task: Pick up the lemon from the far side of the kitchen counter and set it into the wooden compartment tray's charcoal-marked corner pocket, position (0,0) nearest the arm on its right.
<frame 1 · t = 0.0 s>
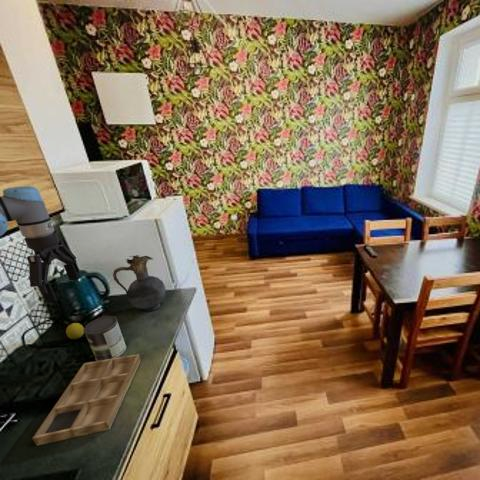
hand: (63, 289, 95), 30 cm above the kitchen counter, tool pointing down, fingers open, 13 cm apart
coffee can: (111, 352, 108), on the kitchen counter
pitcher: (147, 308, 134), on the kitchen counter
lemon: (78, 338, 115), on the kitchen counter
wooden compartment tray: (97, 396, 90), on the kitchen counter
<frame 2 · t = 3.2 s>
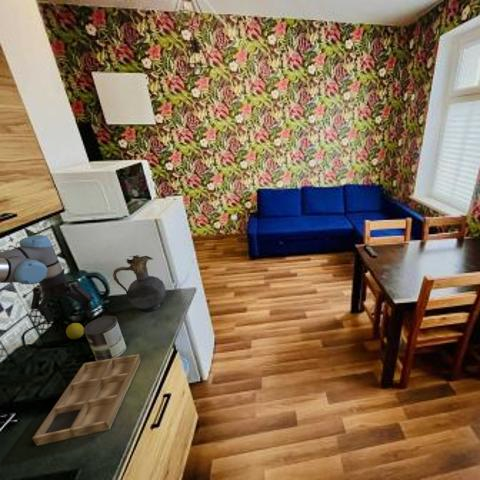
hand: (70, 318, 111), 10 cm above the kitchen counter, tool pointing down, fingers open, 13 cm apart
nothing on the kitchen counter moved.
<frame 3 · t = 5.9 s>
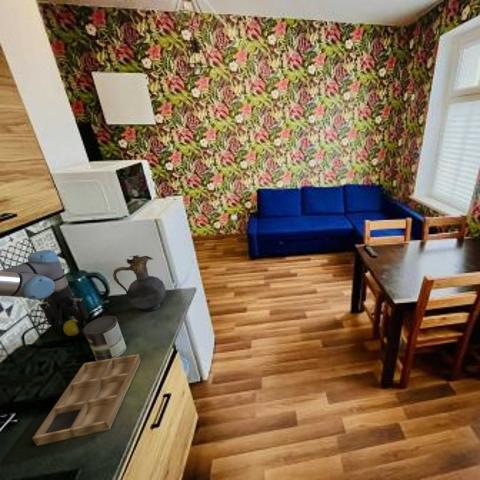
hand: (75, 334, 113), 2 cm above the kitchen counter, tool pointing down, fingers closed on lemon, 5 cm apart
lemon: (75, 335, 113), point 2 cm above the kitchen counter, touching gripper
everything else where it was.
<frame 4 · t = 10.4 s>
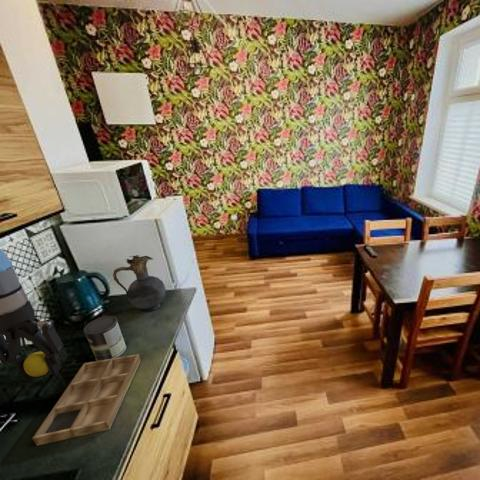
hand: (44, 373, 76), 19 cm above the kitchen counter, tool pointing down, fingers closed on lemon, 5 cm apart
lemon: (44, 374, 76), point 18 cm above the kitchen counter, touching gripper
everything else where it was.
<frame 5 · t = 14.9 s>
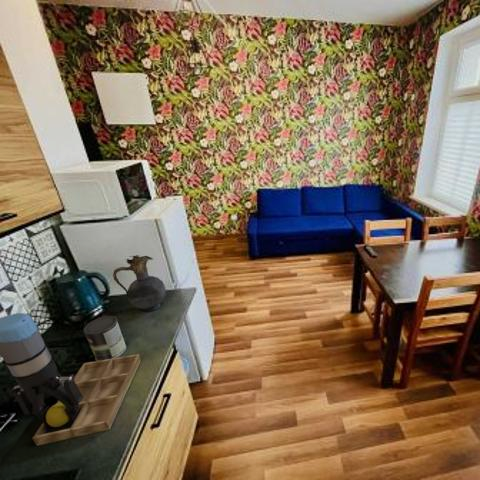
hand: (64, 422, 81), 1 cm above the kitchen counter, tool pointing down, fingers closed on lemon, 5 cm apart
lemon: (64, 423, 81), point 1 cm above the kitchen counter, touching gripper
everything else where it was.
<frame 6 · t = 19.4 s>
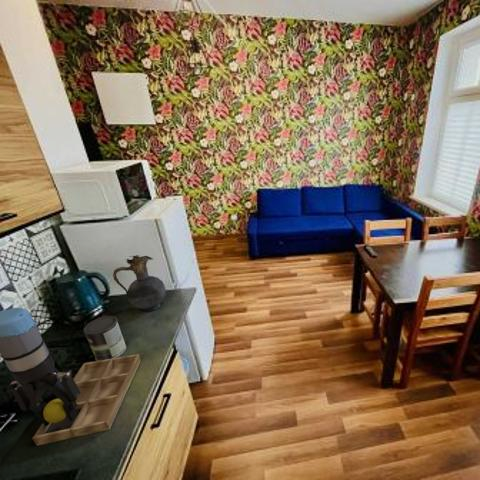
hand: (61, 418, 80), 3 cm above the kitchen counter, tool pointing down, fingers closed on lemon, 5 cm apart
lemon: (62, 420, 80), point 3 cm above the kitchen counter, touching gripper
everything else where it was.
when the fingers open (3 cm above the kitchen counter, at t = 23.4 s): lemon drops 2 cm, resting on wooden compartment tray.
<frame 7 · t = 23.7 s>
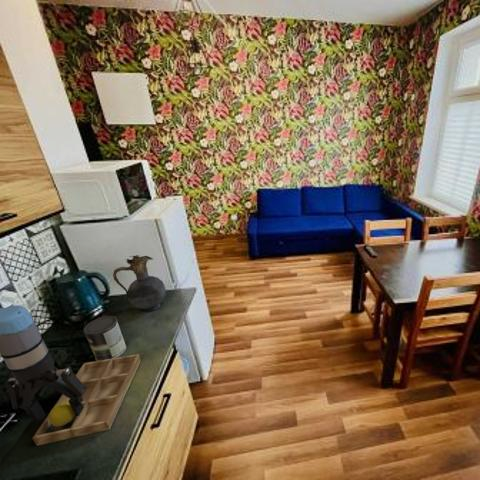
hand: (60, 415, 79), 4 cm above the kitchen counter, tool pointing down, fingers open, 9 cm apart
lemon: (65, 423, 81), point 1 cm above the kitchen counter, touching wooden compartment tray
everything else where it was.
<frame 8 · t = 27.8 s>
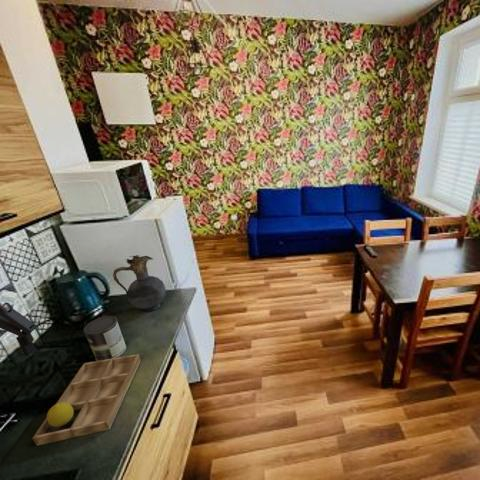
hand: (1, 357, 74), 25 cm above the kitchen counter, tool pointing down, fingers open, 13 cm apart
nothing on the kitchen counter moved.
at the end: lemon 0.2 cm from the target spot in the wooden compartment tray, point 0.8 cm above the wooden compartment tray's base; the gripper is holding nothing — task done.
